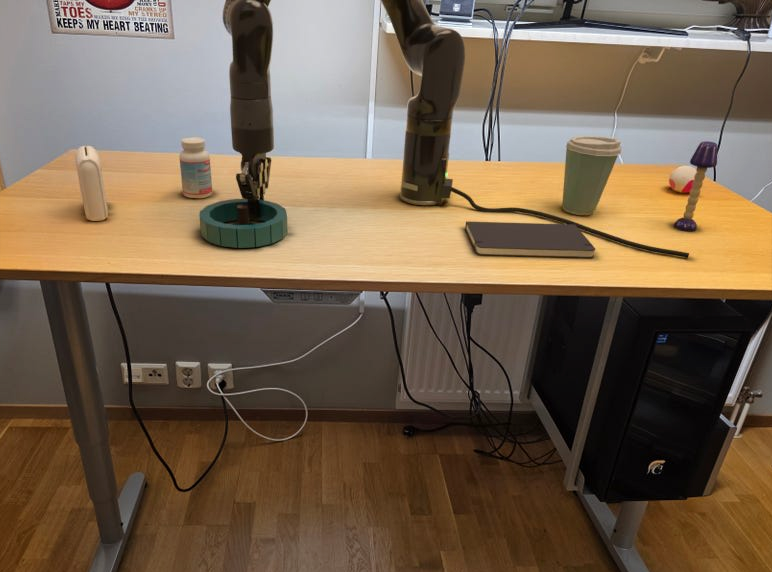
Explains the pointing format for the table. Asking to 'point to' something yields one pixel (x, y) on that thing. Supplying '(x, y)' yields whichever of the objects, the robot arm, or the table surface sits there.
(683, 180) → the stress ball
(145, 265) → the table surface
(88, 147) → the photo printer
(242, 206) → the peg stand
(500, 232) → the notebook
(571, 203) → the disposable coffee cup
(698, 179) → the toy lamp
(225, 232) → the ring
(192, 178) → the pill bottle
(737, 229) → the table surface
